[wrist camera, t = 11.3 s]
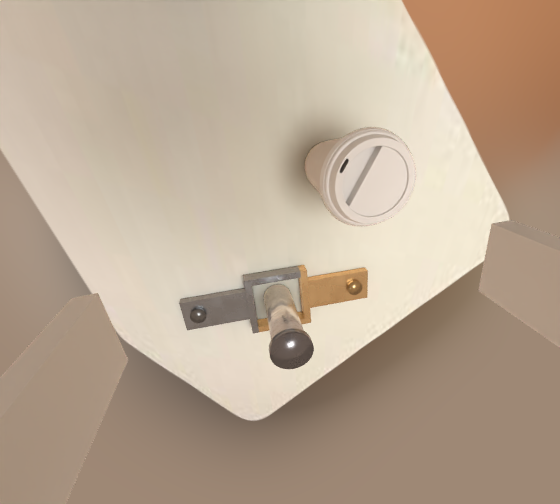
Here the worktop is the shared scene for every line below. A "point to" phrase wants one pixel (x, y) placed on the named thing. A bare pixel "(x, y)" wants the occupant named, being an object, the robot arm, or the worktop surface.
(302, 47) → the worktop surface
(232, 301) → the link plate steel
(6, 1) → the worktop surface
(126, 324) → the worktop surface
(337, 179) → the coffee cup
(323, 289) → the link plate bronze
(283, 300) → the pin
